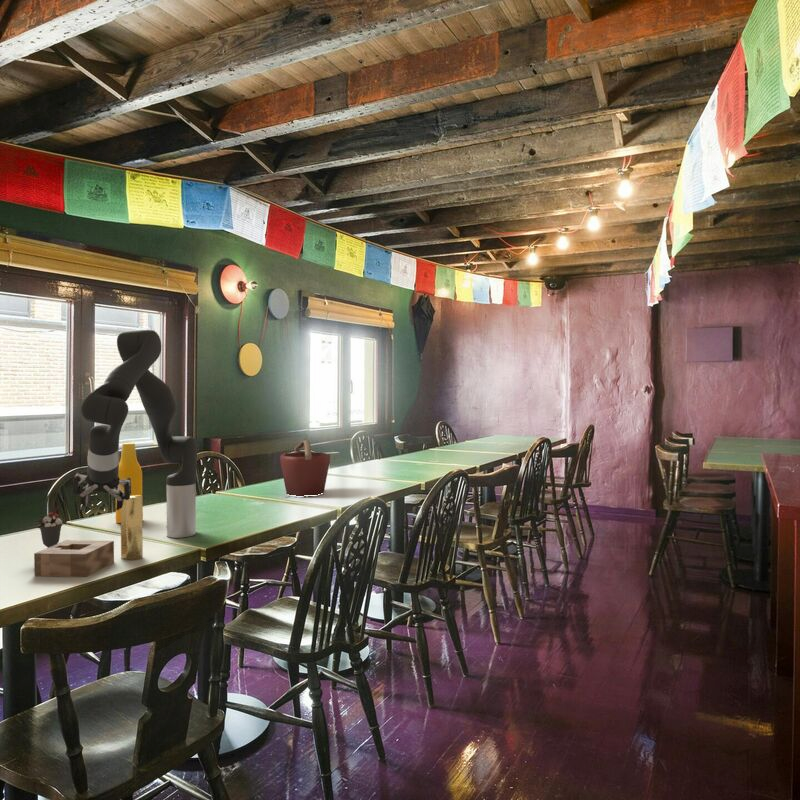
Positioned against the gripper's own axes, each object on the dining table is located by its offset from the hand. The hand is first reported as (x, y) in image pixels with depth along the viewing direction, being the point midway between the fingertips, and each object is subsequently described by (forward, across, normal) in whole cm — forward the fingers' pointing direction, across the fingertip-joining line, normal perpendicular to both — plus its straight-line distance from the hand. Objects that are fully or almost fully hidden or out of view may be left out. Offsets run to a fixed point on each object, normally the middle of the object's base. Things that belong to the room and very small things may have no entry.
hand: (102, 506), depth 169 cm
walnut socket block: (+15, +4, +10) cm, 18 cm away
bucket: (+58, -68, -82) cm, 122 cm away
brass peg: (+16, -10, +2) cm, 19 cm away
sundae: (+22, +13, 0) cm, 26 cm away
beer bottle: (+46, 0, -41) cm, 62 cm away
